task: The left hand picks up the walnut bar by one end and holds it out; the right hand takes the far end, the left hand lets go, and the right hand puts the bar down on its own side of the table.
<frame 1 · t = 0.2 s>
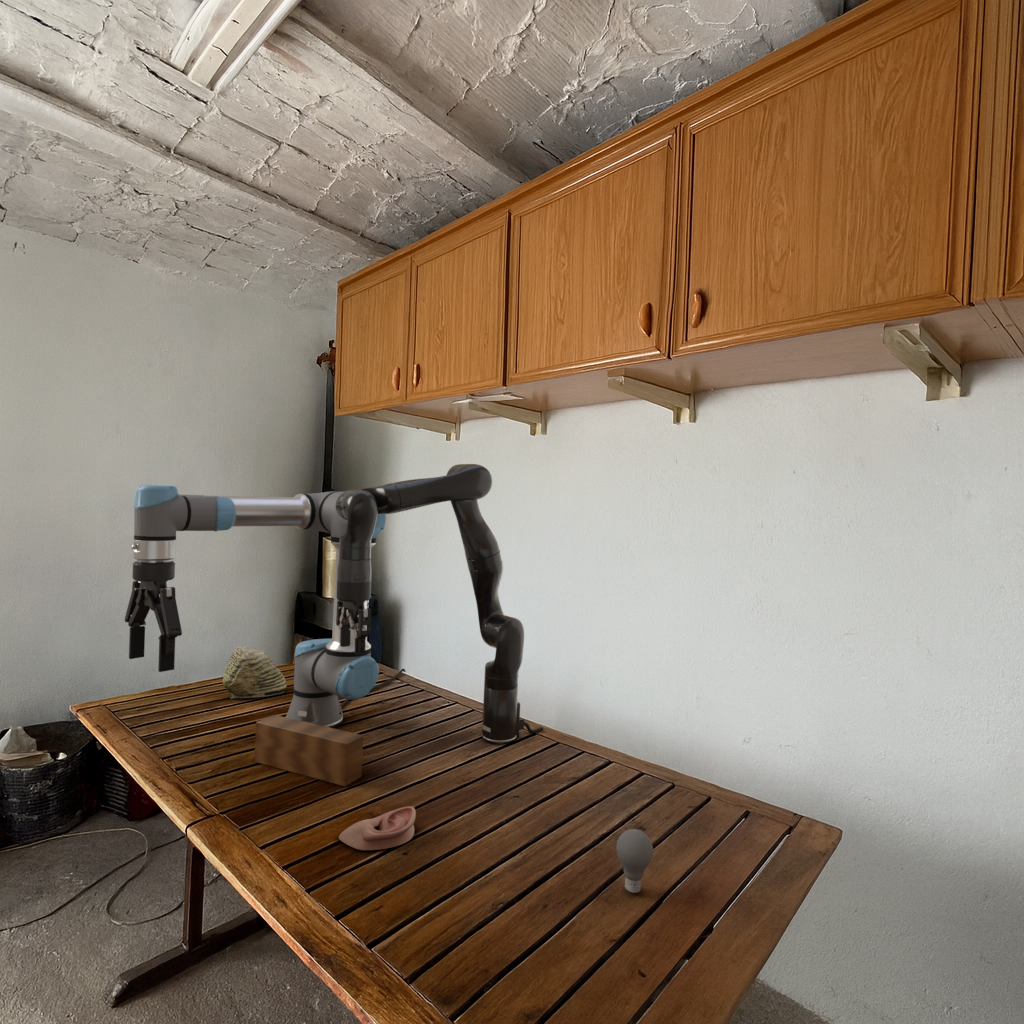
left hand: (150, 664, 130), 28 cm above the table, tool pointing down, fingers open, 13 cm apart
right hand: (352, 650, 143), 29 cm above the table, tool pointing down, fingers open, 8 cm apart
bar: (307, 768, 147), on the table
light bulb: (632, 891, 106), on the table
fossil: (254, 694, 198), on the table
anatomical model: (377, 836, 119), on the table
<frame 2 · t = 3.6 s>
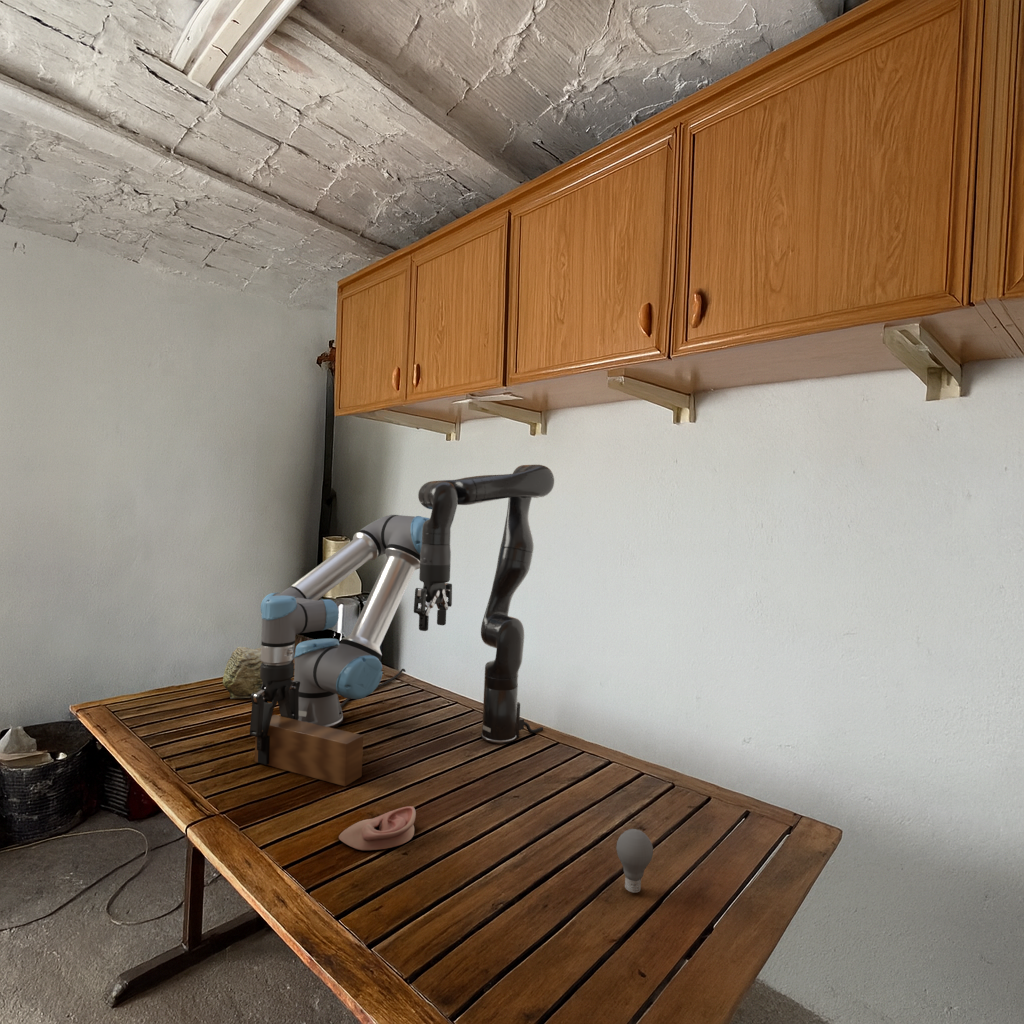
left hand: (273, 758, 151), 0 cm above the table, tool pointing down, fingers closed on bar, 6 cm apart
right hand: (432, 627, 156), 32 cm above the table, tool pointing down, fingers open, 8 cm apart
bar: (307, 768, 147), on the table, touching left hand
everything else where it was.
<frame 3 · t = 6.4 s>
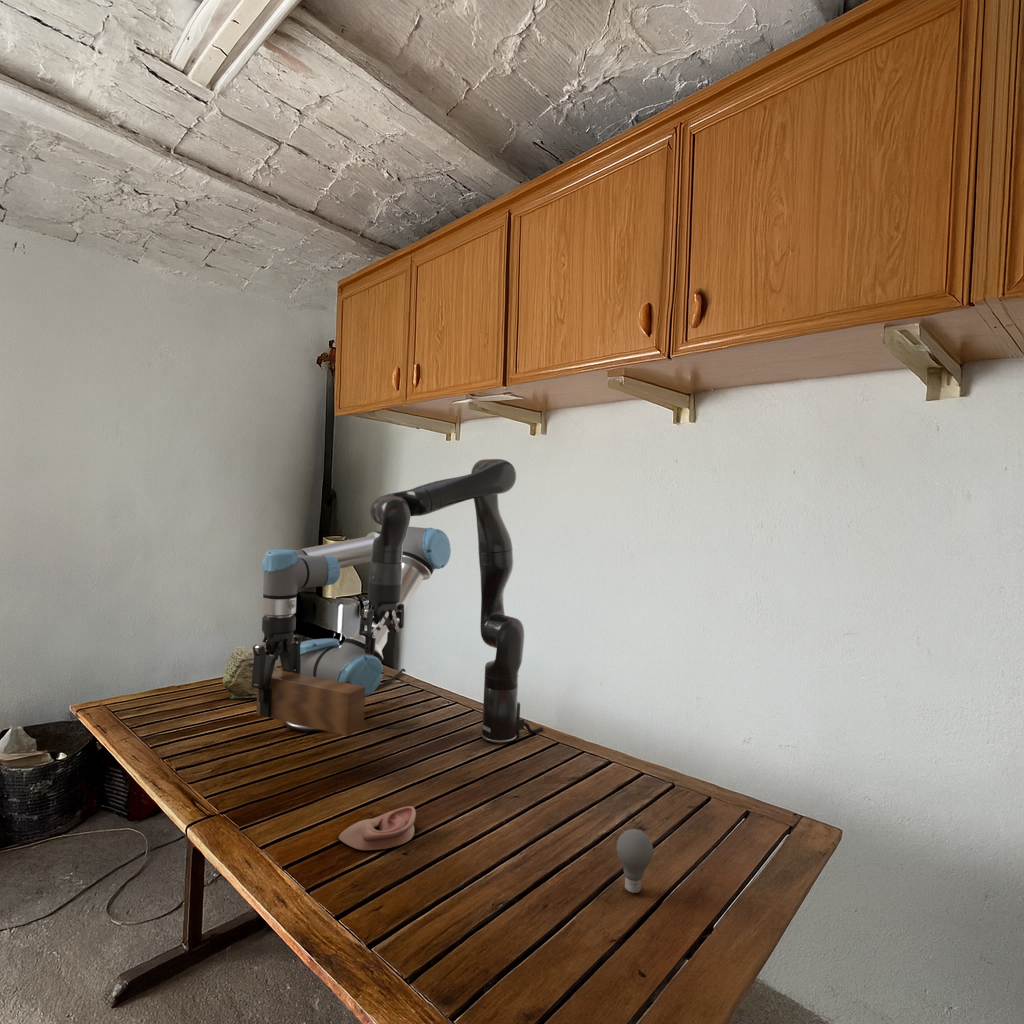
left hand: (275, 711, 151), 12 cm above the table, tool pointing down, fingers closed on bar, 6 cm apart
right hand: (380, 650, 148), 28 cm above the table, tool pointing down, fingers open, 8 cm apart
bar: (309, 721, 147), point 11 cm above the table, touching left hand
everything else where it was.
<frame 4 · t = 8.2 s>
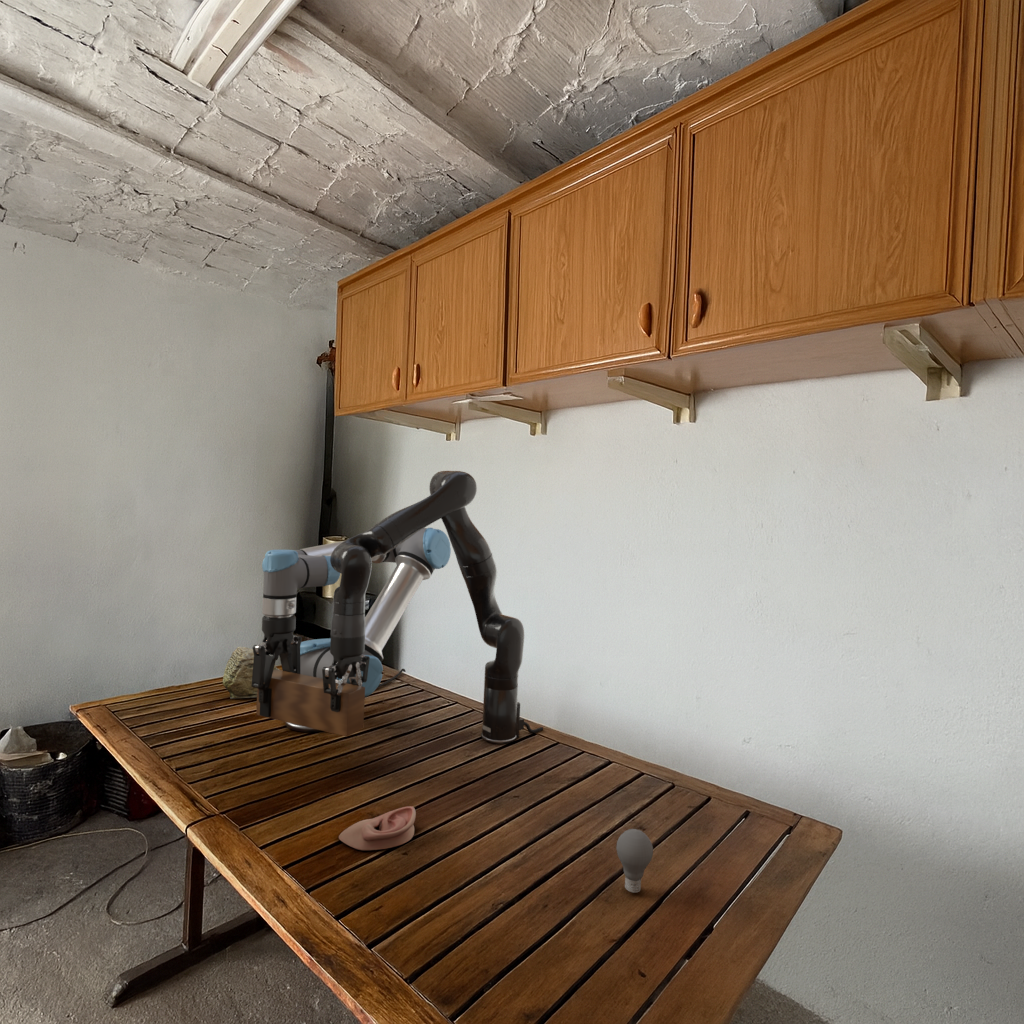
left hand: (275, 711, 151), 12 cm above the table, tool pointing down, fingers closed on bar, 6 cm apart
right hand: (345, 706, 143), 16 cm above the table, tool pointing down, fingers closed on bar, 6 cm apart
bar: (308, 721, 147), point 11 cm above the table, touching left hand, right hand
everything else where it was.
when the left hand's fingers open (12 cm above the table, at t = 9.3 s): bar stays where it is, held by the right hand.
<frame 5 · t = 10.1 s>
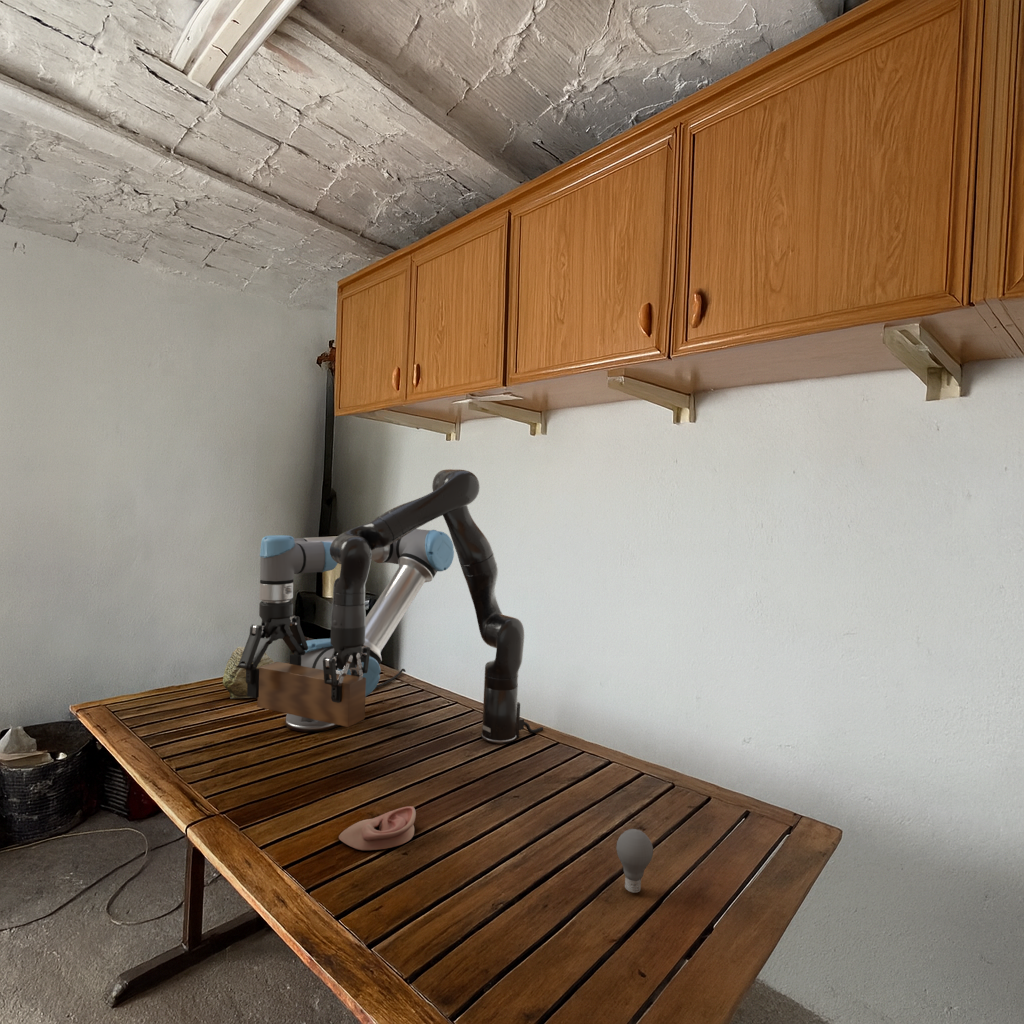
left hand: (274, 688, 152), 17 cm above the table, tool pointing down, fingers open, 13 cm apart
right hand: (346, 697, 143), 18 cm above the table, tool pointing down, fingers closed on bar, 6 cm apart
bar: (310, 712, 147), point 13 cm above the table, touching right hand
everything else where it was.
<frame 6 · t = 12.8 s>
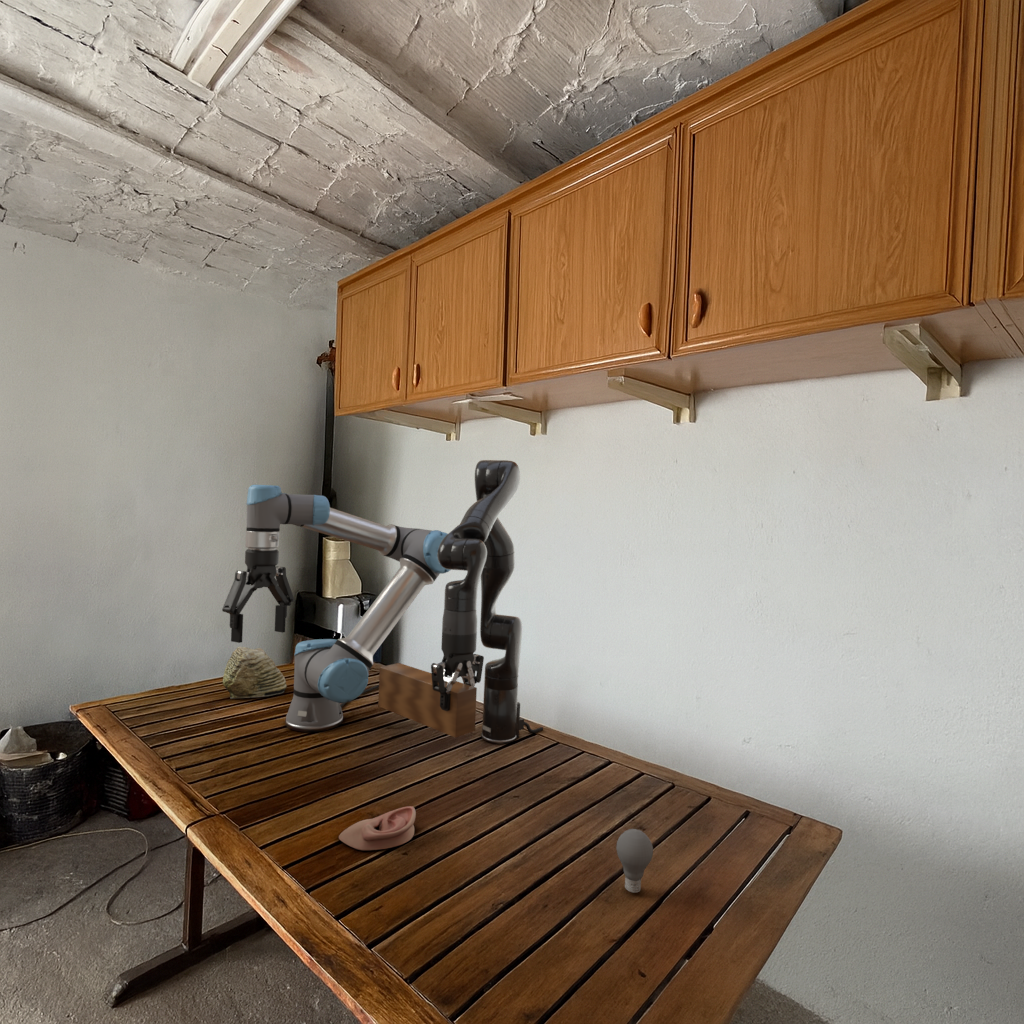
left hand: (259, 636, 153), 29 cm above the table, tool pointing down, fingers open, 13 cm apart
right hand: (456, 706, 138), 19 cm above the table, tool pointing down, fingers closed on bar, 6 cm apart
bar: (424, 718, 144), point 14 cm above the table, touching right hand
everything else where it was.
when the right hand's fingers open (7 cm above the table, at t = 17.2 s): bar drops 2 cm, on the table.
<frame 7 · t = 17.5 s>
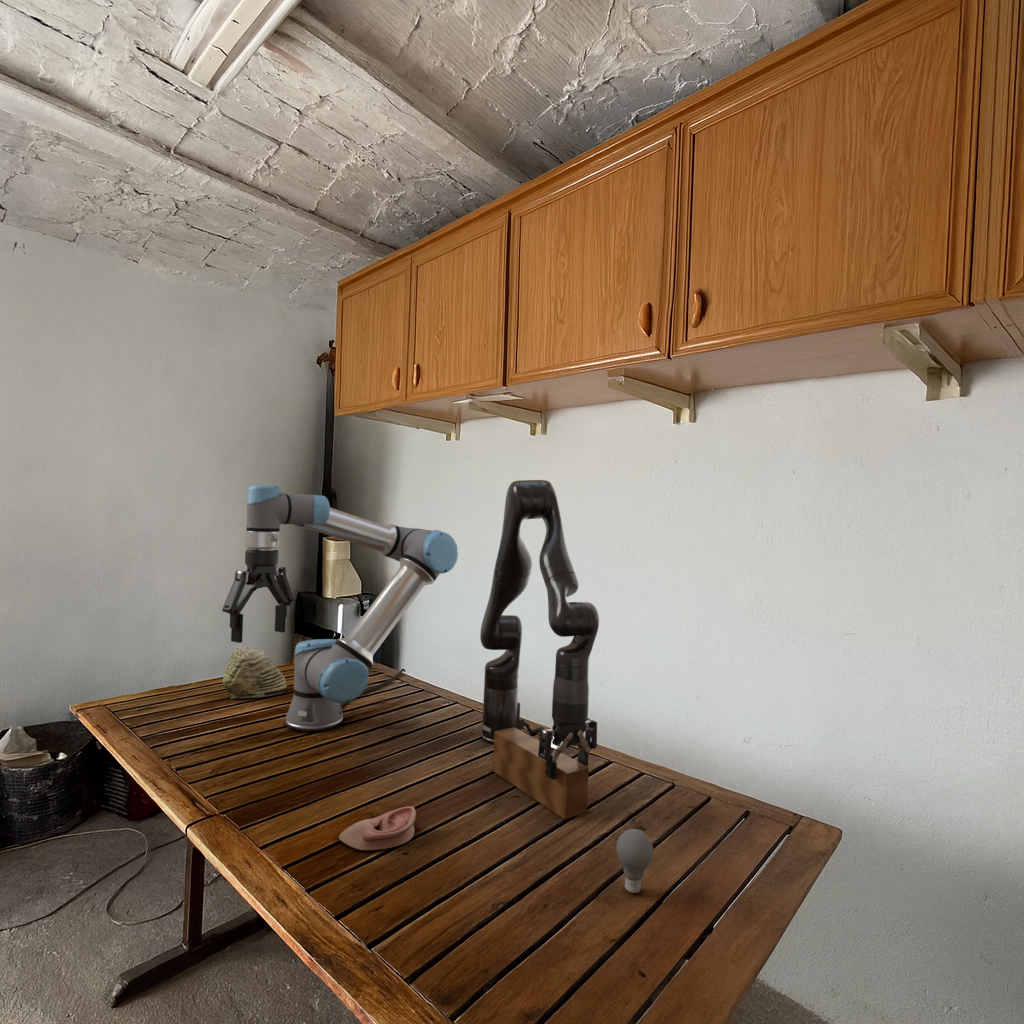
left hand: (259, 636, 153), 29 cm above the table, tool pointing down, fingers open, 13 cm apart
right hand: (567, 773, 133), 7 cm above the table, tool pointing down, fingers open, 8 cm apart
bar: (536, 790, 141), on the table
everything else where it was.
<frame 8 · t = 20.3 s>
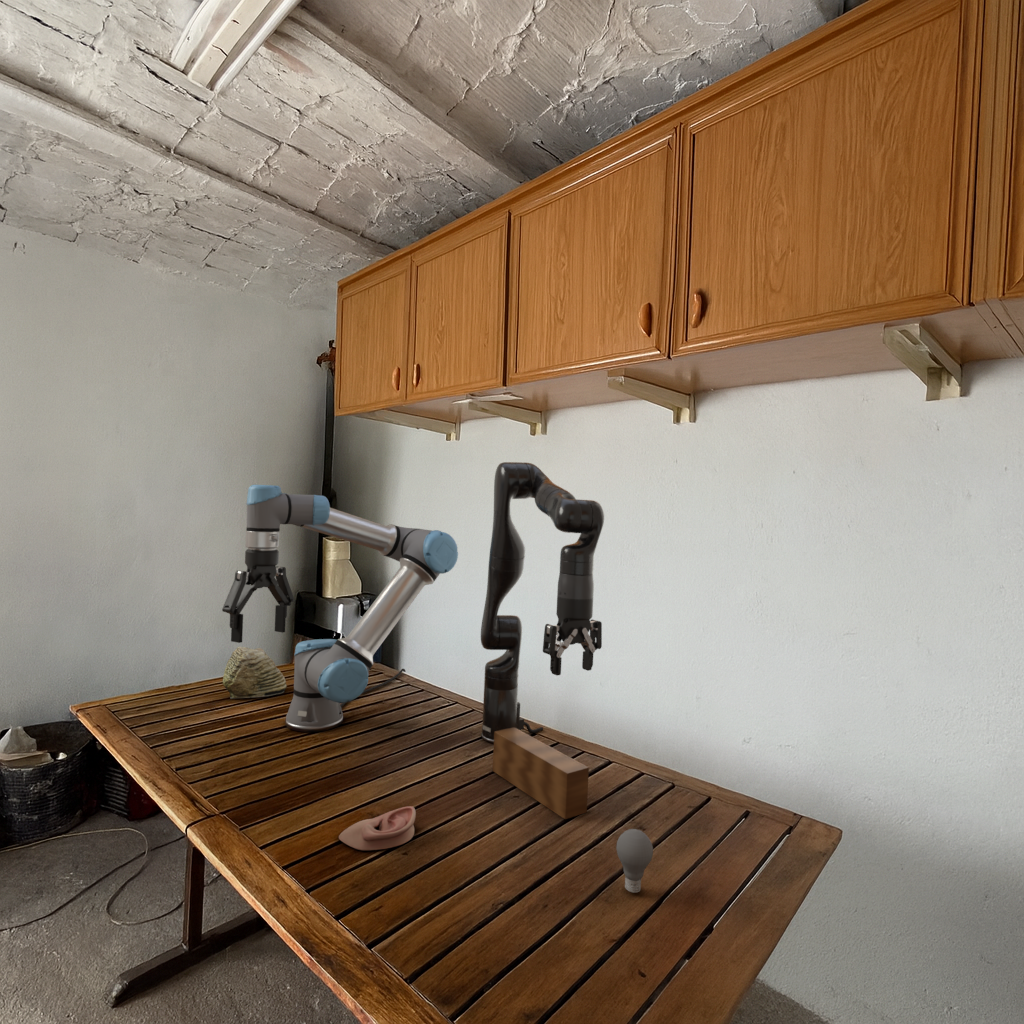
left hand: (259, 636, 153), 29 cm above the table, tool pointing down, fingers open, 13 cm apart
right hand: (571, 672, 133), 29 cm above the table, tool pointing down, fingers open, 8 cm apart
nothing on the table moved.
at the end: bar inside the target area (9.8 cm from its centre), on the table; the left hand is holding nothing; the right hand is holding nothing; bar at rest at the end (0.0 cm/s) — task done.
